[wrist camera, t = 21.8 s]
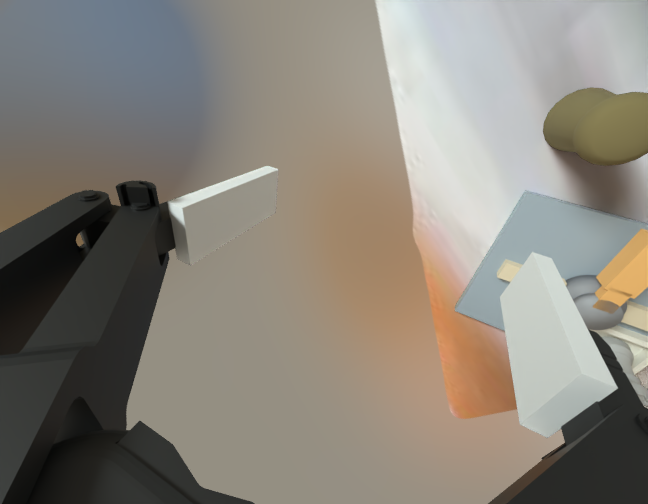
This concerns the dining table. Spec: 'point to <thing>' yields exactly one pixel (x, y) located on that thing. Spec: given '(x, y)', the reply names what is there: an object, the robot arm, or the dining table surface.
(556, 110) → the brown pawn piece
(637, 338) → the socket
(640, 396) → the rook chess piece
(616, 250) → the base plate with blocks
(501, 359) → the dining table surface
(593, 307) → the hinged leg
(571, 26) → the dining table surface
